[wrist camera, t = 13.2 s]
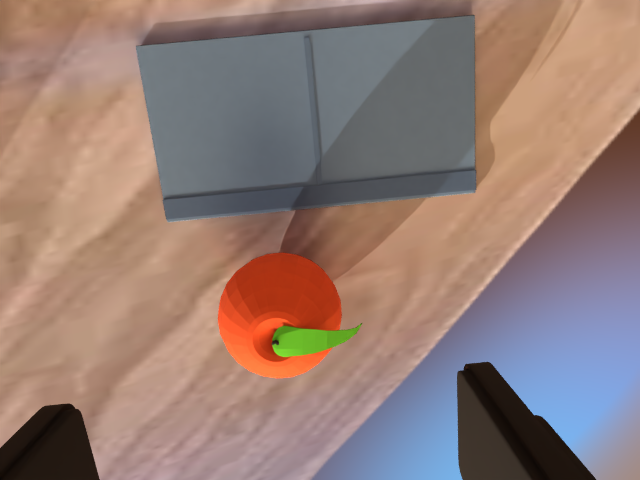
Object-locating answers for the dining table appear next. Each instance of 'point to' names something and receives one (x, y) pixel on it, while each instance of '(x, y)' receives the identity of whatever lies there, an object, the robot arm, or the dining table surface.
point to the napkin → (313, 117)
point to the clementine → (281, 315)
